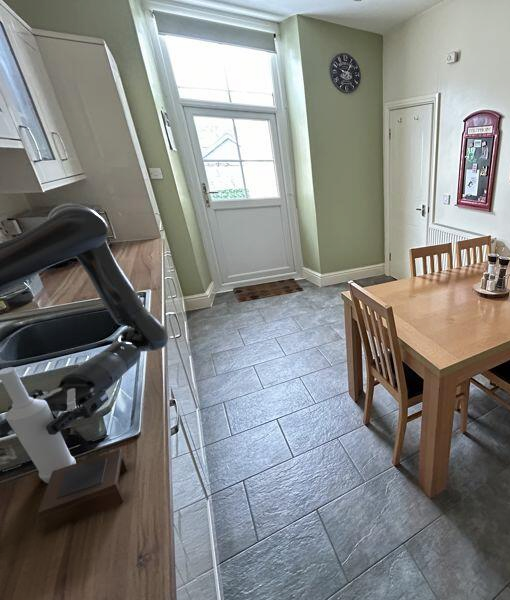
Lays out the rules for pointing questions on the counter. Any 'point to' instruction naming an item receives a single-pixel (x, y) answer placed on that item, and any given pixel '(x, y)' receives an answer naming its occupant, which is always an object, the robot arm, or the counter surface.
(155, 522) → the counter surface
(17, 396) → the bottle
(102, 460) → the dark wooden pedestal
